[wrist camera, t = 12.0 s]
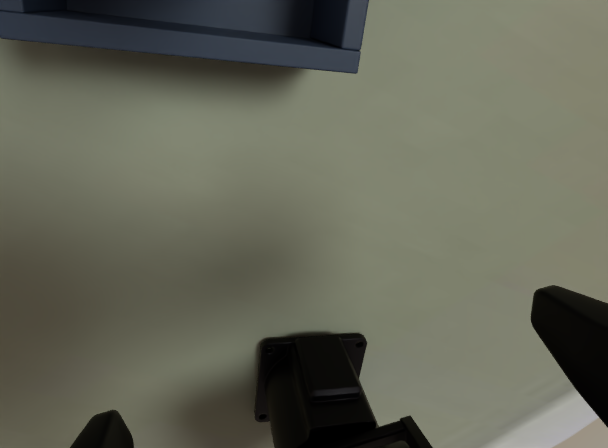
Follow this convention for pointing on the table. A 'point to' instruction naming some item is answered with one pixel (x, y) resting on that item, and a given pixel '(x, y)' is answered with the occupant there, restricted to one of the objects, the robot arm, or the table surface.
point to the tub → (200, 28)
